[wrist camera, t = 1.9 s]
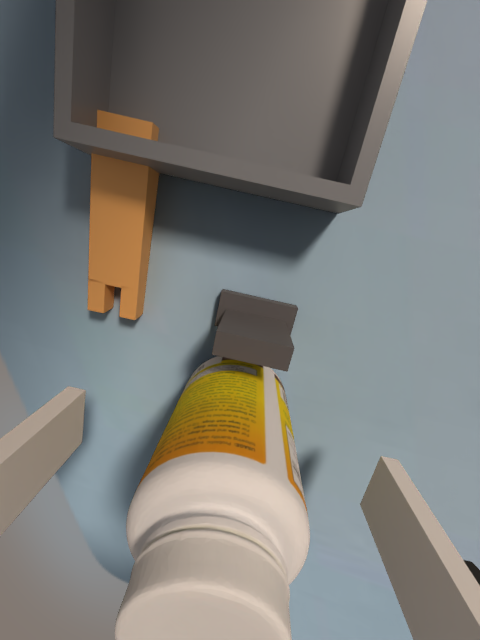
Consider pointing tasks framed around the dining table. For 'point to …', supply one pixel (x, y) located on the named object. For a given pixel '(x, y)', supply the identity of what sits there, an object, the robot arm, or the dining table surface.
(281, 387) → the supplement bottle
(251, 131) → the parts tray
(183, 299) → the dining table surface
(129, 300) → the fuse puller tool
